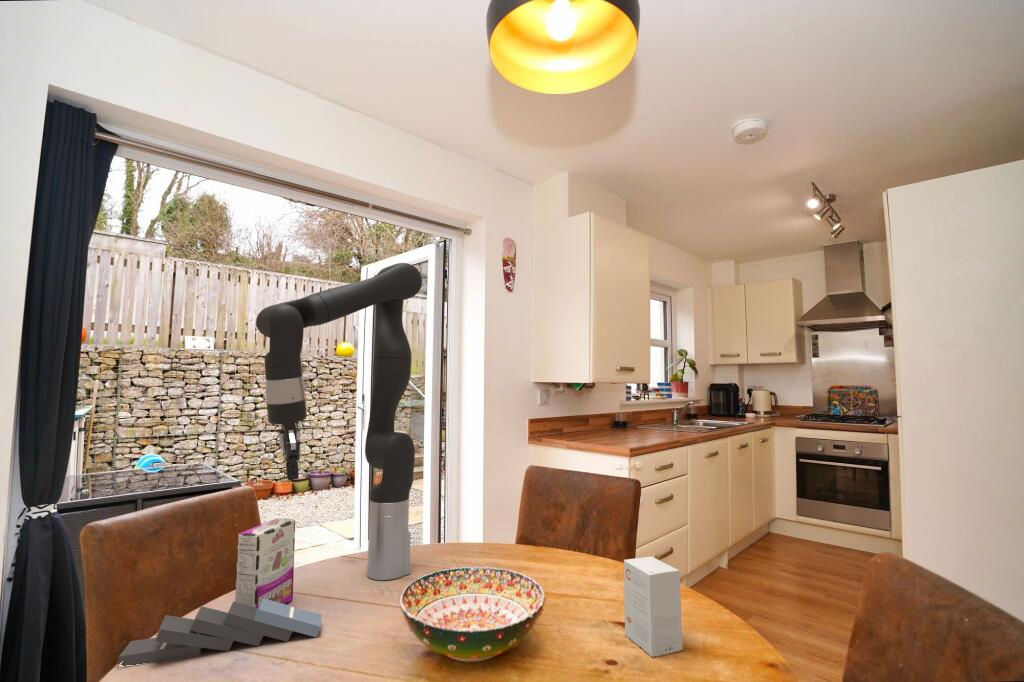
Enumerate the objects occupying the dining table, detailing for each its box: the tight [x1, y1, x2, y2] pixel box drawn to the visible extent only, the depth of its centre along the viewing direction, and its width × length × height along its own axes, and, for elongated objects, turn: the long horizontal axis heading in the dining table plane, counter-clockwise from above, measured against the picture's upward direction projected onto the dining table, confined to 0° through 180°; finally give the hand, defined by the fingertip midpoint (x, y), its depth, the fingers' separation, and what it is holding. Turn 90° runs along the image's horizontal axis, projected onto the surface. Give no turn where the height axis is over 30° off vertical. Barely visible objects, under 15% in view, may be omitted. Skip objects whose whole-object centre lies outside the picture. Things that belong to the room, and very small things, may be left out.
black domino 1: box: [155, 615, 234, 652], centre depth 81 cm, size 2×5×11 cm
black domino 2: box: [190, 605, 264, 647], centre depth 83 cm, size 2×5×11 cm
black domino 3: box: [223, 600, 293, 643], centre depth 85 cm, size 2×5×11 cm
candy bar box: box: [234, 517, 296, 608], centre depth 97 cm, size 11×5×16 cm, turn 168°
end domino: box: [117, 637, 204, 666], centre depth 80 cm, size 2×5×11 cm
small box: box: [623, 556, 684, 658], centre depth 85 cm, size 8×6×13 cm
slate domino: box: [254, 598, 322, 638], centre depth 87 cm, size 2×5×11 cm
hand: (292, 478), depth 105 cm, fingers closed
